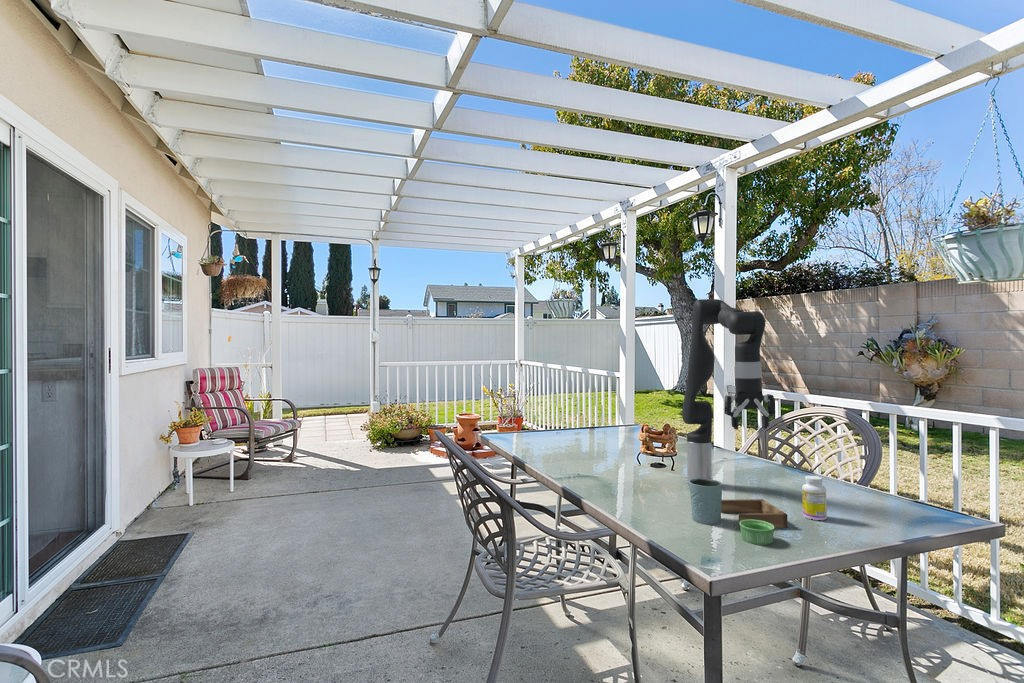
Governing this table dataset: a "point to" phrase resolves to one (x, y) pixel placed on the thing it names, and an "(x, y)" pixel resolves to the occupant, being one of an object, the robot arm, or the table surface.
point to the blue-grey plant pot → (706, 500)
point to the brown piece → (755, 511)
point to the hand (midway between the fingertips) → (750, 428)
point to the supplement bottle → (814, 498)
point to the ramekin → (756, 531)
